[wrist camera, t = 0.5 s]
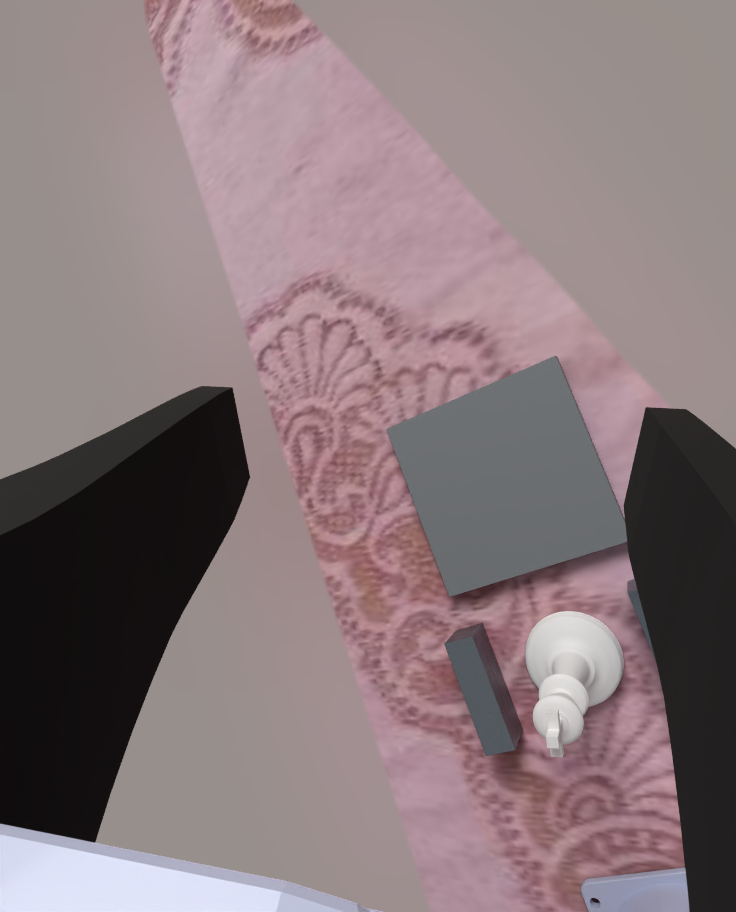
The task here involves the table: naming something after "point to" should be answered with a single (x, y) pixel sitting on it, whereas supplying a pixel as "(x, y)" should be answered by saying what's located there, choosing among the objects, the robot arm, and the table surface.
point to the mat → (507, 480)
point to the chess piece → (570, 673)
